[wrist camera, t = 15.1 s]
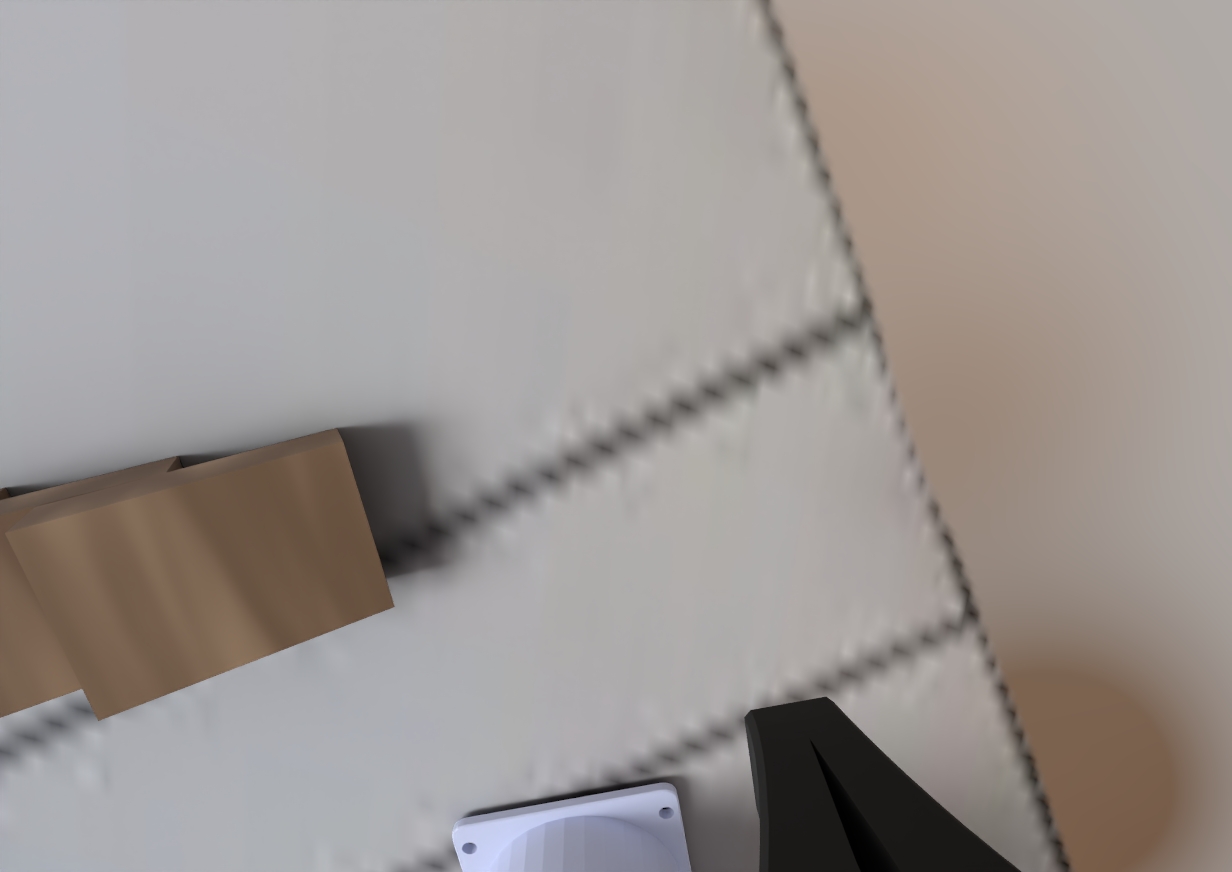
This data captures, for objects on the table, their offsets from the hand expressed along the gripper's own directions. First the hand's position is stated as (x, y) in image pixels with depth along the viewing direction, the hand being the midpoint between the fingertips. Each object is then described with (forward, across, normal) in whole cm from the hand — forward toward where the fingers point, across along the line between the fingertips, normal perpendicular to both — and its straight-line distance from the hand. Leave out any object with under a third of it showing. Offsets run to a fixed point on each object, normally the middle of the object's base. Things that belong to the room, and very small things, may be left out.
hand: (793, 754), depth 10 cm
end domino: (+9, +9, -2) cm, 13 cm away
